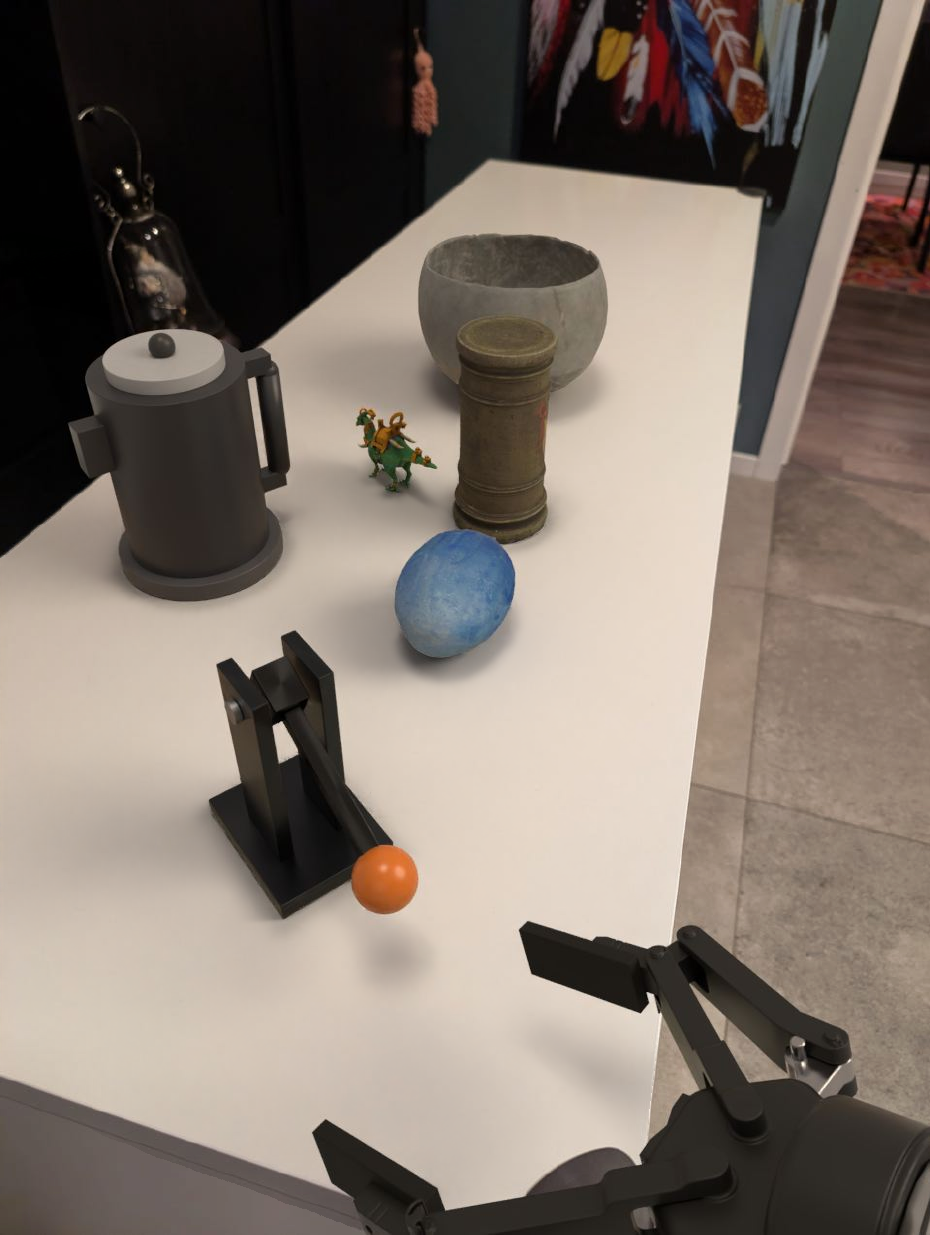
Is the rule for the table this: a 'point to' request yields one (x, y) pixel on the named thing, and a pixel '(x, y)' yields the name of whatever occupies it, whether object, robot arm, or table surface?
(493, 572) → the egg
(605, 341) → the table surface
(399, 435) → the figurine
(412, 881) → the switch
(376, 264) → the table surface
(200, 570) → the kettle
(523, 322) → the container
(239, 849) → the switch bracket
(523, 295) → the bowl
